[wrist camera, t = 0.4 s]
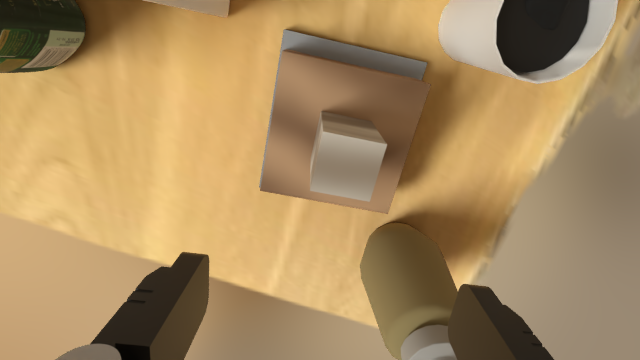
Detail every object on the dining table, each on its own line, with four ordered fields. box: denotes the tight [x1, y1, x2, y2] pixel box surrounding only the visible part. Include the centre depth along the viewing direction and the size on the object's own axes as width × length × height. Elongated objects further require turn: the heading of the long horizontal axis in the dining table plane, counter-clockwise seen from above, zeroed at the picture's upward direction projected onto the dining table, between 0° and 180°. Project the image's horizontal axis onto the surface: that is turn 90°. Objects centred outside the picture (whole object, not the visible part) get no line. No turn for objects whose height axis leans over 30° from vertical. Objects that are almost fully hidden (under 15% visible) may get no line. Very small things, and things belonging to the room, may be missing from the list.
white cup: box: [438, 0, 618, 84], centre depth 23 cm, size 7×7×10 cm
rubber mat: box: [259, 30, 427, 188], centre depth 30 cm, size 14×12×1 cm
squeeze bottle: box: [360, 223, 458, 360], centre depth 27 cm, size 8×8×18 cm
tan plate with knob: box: [260, 49, 431, 214], centre depth 25 cm, size 11×11×10 cm
